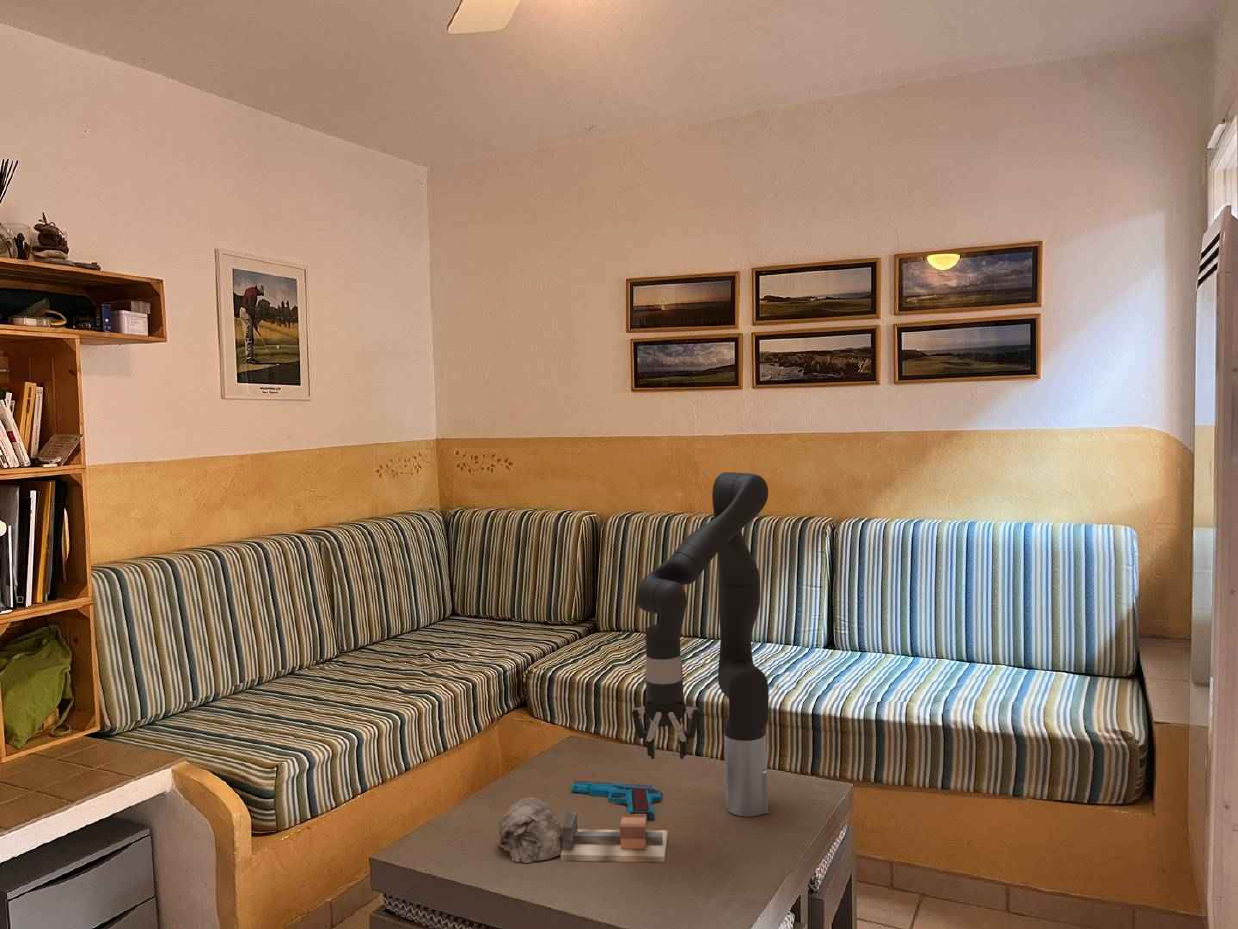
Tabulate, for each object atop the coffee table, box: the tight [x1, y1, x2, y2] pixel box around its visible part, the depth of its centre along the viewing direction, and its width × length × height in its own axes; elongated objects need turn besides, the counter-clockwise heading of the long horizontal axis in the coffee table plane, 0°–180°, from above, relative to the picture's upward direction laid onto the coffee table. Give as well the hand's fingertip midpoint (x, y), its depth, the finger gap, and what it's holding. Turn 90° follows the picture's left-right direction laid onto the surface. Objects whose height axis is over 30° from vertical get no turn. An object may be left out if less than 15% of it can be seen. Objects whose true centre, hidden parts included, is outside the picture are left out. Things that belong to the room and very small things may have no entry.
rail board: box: [560, 811, 669, 863], centre depth 195 cm, size 21×11×6 cm, turn 84°
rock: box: [498, 796, 563, 864], centre depth 196 cm, size 15×12×10 cm
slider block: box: [619, 813, 648, 849], centre depth 195 cm, size 5×6×5 cm
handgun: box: [570, 779, 664, 821], centre depth 216 cm, size 23×3×15 cm
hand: (667, 757), depth 192 cm, fingers open, 5 cm apart
